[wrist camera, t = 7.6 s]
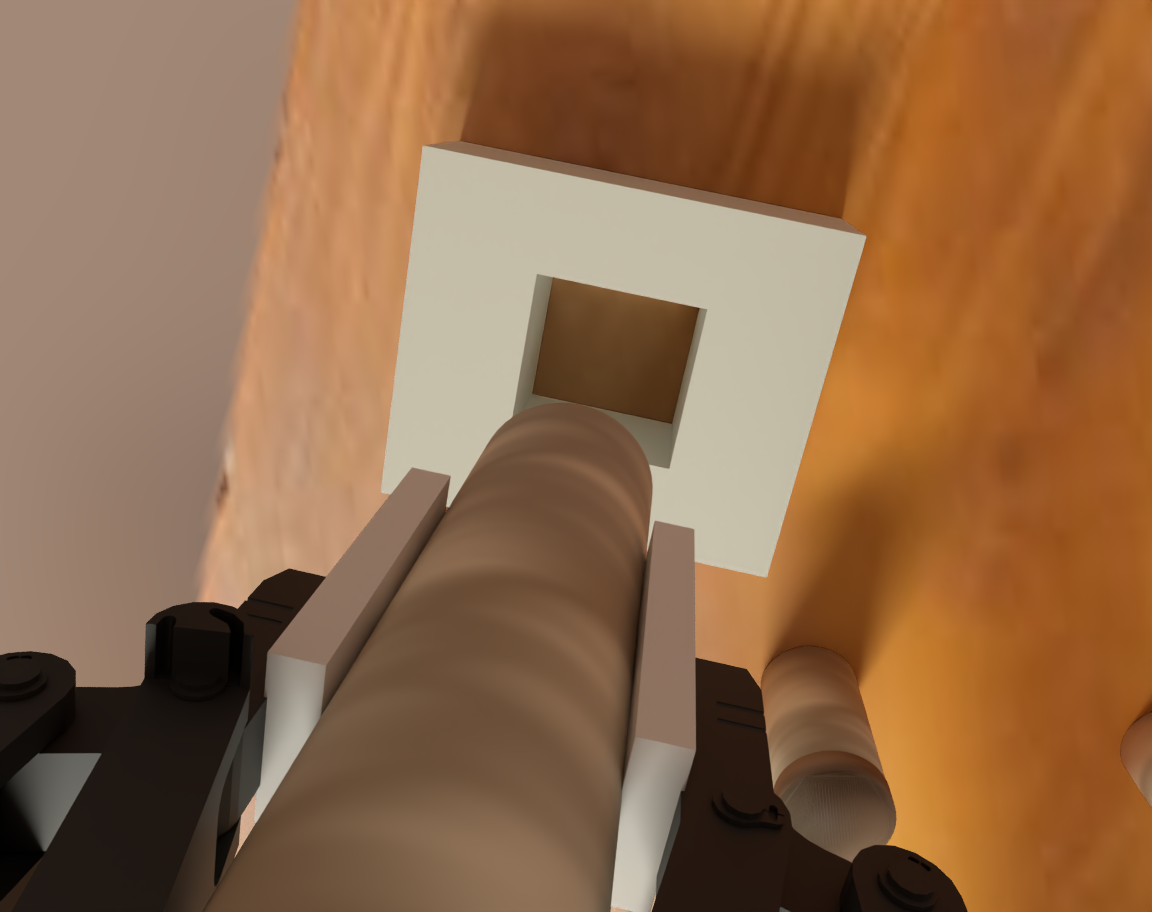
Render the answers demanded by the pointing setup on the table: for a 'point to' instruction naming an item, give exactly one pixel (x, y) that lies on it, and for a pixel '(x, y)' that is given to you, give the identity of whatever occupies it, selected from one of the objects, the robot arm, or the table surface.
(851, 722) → the medium dowel
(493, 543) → the long dowel
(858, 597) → the table surface
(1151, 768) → the short dowel
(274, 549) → the table surface
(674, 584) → the robot arm
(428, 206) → the hole block
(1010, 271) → the table surface
